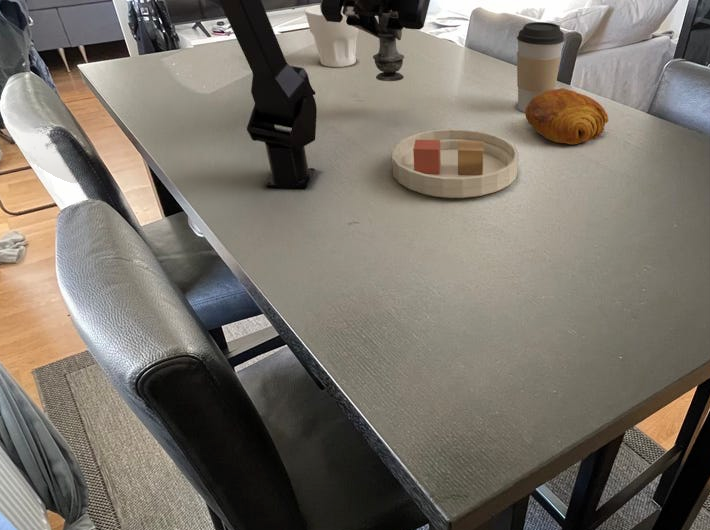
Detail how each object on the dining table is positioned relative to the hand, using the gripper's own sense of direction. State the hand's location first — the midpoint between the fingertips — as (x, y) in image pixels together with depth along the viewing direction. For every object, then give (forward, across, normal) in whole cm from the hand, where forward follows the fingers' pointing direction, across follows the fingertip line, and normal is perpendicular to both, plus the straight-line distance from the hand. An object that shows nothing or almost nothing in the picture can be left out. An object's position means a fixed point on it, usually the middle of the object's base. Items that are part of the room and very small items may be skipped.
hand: (390, 36), depth 108 cm
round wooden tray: (-7, -21, +27) cm, 35 cm away
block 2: (-7, -23, +26) cm, 35 cm away
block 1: (-8, -16, +27) cm, 33 cm away
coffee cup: (+18, -26, +1) cm, 31 cm away
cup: (+28, +27, -11) cm, 41 cm away
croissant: (+10, -34, +9) cm, 37 cm away
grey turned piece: (+4, 0, +6) cm, 7 cm away
